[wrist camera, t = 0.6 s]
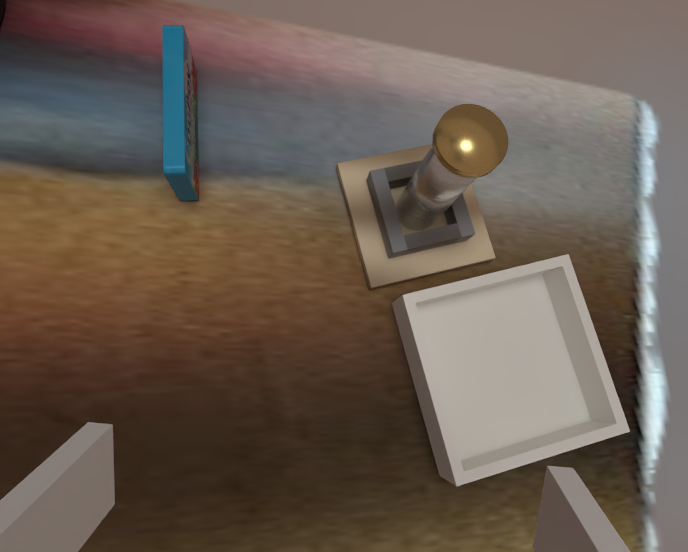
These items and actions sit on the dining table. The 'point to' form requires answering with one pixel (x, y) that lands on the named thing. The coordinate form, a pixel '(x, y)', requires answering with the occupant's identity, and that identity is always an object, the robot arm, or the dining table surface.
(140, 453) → the dining table surface
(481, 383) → the tray
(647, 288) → the dining table surface
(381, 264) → the canister holder base
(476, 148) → the gold-capped canister
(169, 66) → the blue box
